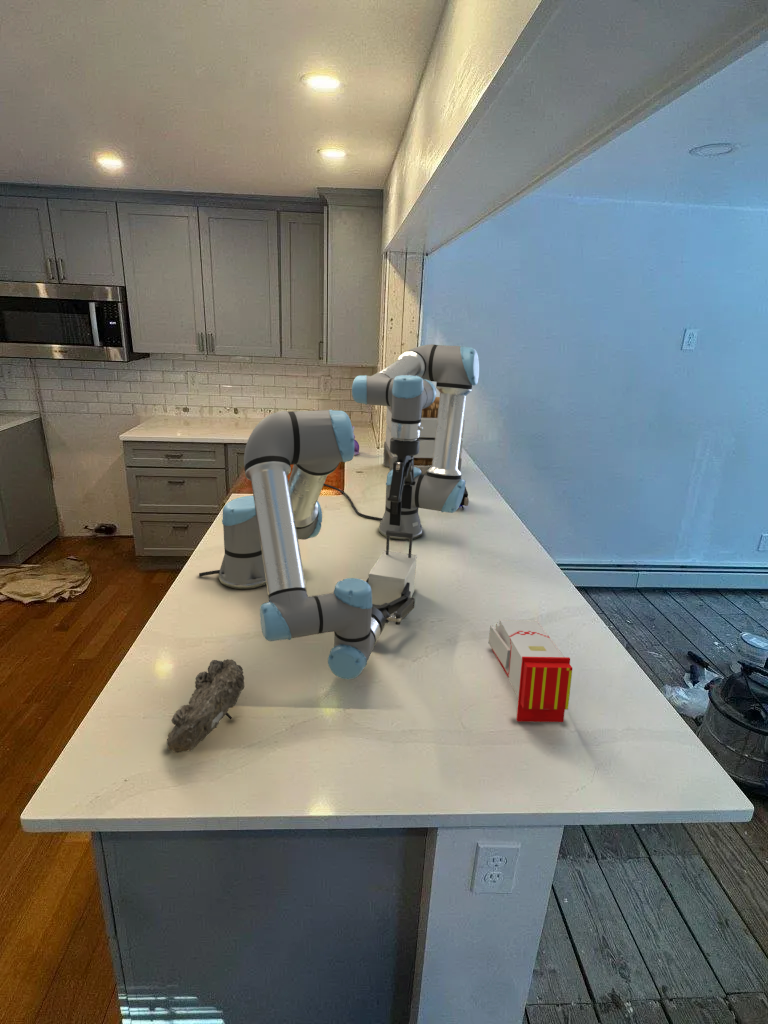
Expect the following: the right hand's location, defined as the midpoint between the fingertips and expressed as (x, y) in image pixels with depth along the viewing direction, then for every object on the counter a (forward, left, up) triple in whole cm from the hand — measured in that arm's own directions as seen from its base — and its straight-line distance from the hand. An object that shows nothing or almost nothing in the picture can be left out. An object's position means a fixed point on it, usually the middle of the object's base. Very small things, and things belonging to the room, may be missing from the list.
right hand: (400, 516), depth 152 cm
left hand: (+6, -8, -15) cm, 18 cm away
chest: (+3, -5, -22) cm, 23 cm away
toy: (+47, -5, -22) cm, 52 cm away
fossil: (+17, -63, -22) cm, 69 cm away
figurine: (-131, +85, -22) cm, 158 cm away
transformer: (-84, +90, -22) cm, 126 cm away
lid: (+3, -4, -13) cm, 14 cm away
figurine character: (-40, +70, -22) cm, 84 cm away
